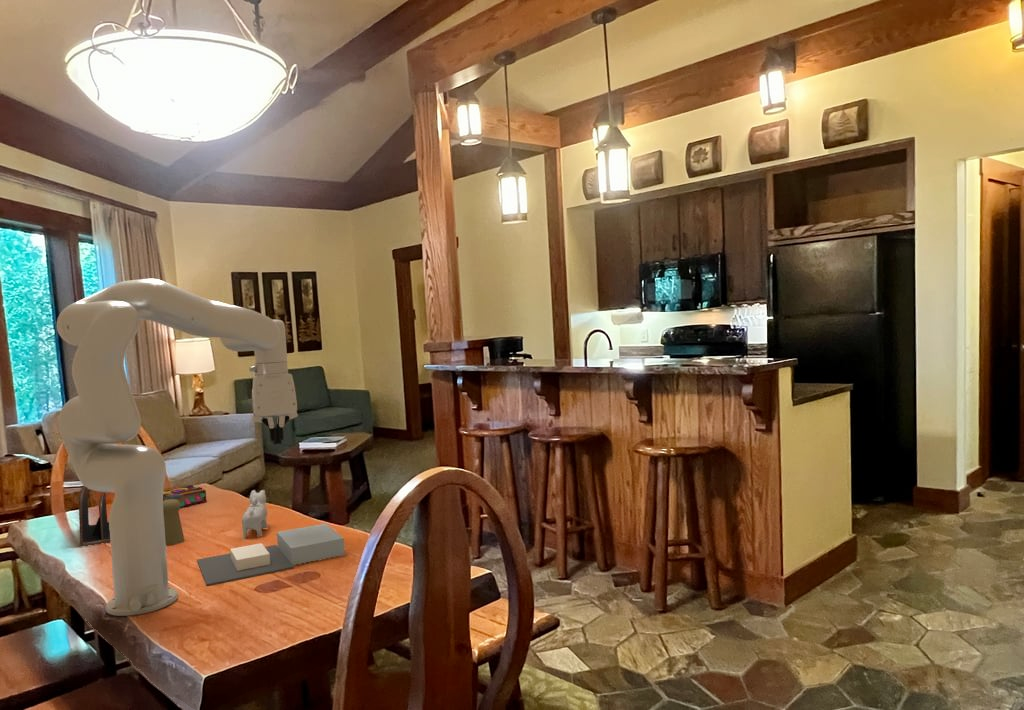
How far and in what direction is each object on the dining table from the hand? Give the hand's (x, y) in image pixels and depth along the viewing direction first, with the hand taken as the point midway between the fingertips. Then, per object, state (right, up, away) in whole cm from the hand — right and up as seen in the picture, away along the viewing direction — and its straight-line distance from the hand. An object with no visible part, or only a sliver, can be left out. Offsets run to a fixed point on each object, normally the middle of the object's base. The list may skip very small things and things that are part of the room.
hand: (276, 443), depth 175 cm
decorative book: (-49, -26, +52) cm, 76 cm away
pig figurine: (-10, -26, +13) cm, 31 cm away
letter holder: (-53, -28, +18) cm, 63 cm away
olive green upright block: (-30, -27, +8) cm, 41 cm away
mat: (-3, -26, -14) cm, 30 cm away
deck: (+10, -25, -6) cm, 28 cm away
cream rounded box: (-2, -23, -13) cm, 27 cm away
